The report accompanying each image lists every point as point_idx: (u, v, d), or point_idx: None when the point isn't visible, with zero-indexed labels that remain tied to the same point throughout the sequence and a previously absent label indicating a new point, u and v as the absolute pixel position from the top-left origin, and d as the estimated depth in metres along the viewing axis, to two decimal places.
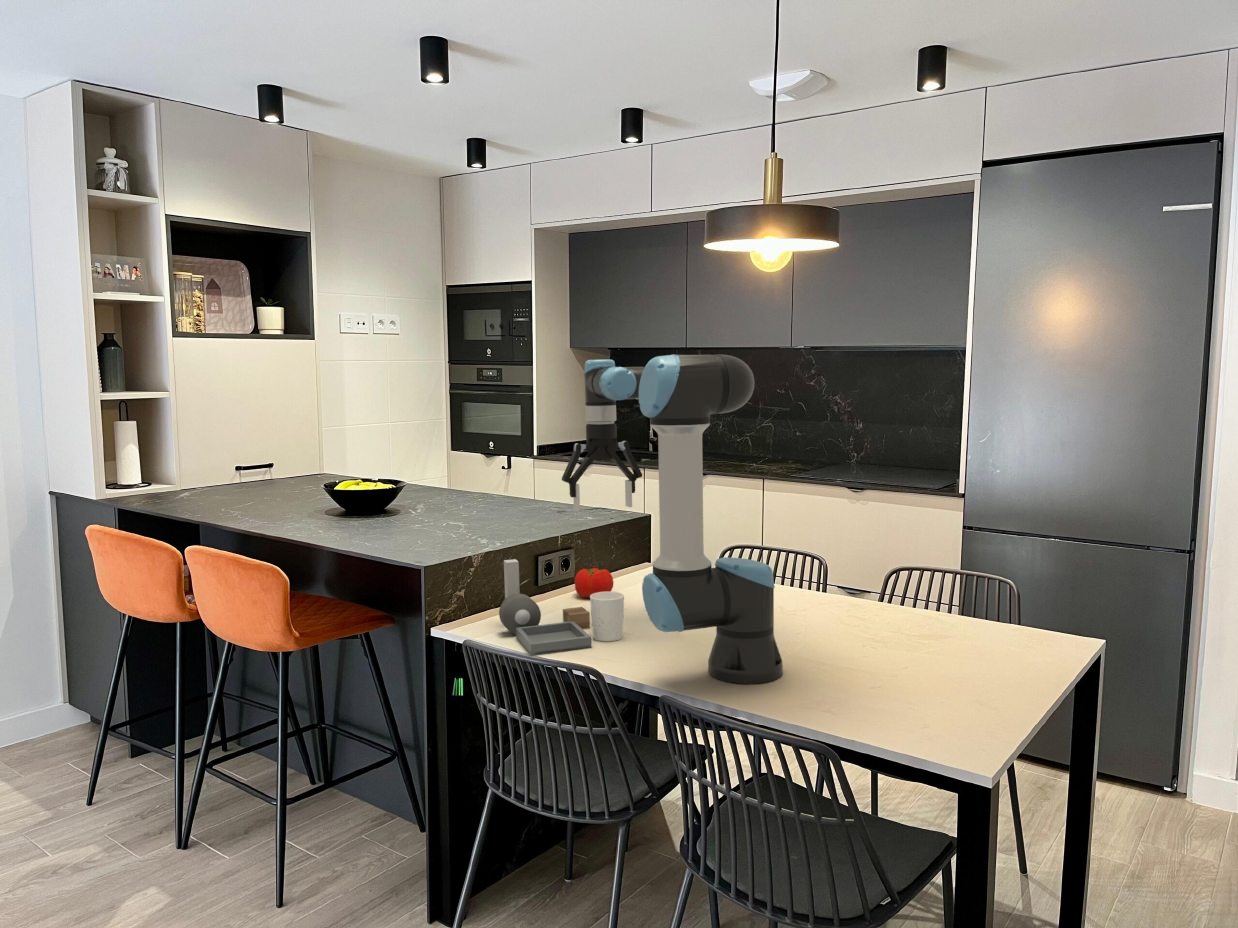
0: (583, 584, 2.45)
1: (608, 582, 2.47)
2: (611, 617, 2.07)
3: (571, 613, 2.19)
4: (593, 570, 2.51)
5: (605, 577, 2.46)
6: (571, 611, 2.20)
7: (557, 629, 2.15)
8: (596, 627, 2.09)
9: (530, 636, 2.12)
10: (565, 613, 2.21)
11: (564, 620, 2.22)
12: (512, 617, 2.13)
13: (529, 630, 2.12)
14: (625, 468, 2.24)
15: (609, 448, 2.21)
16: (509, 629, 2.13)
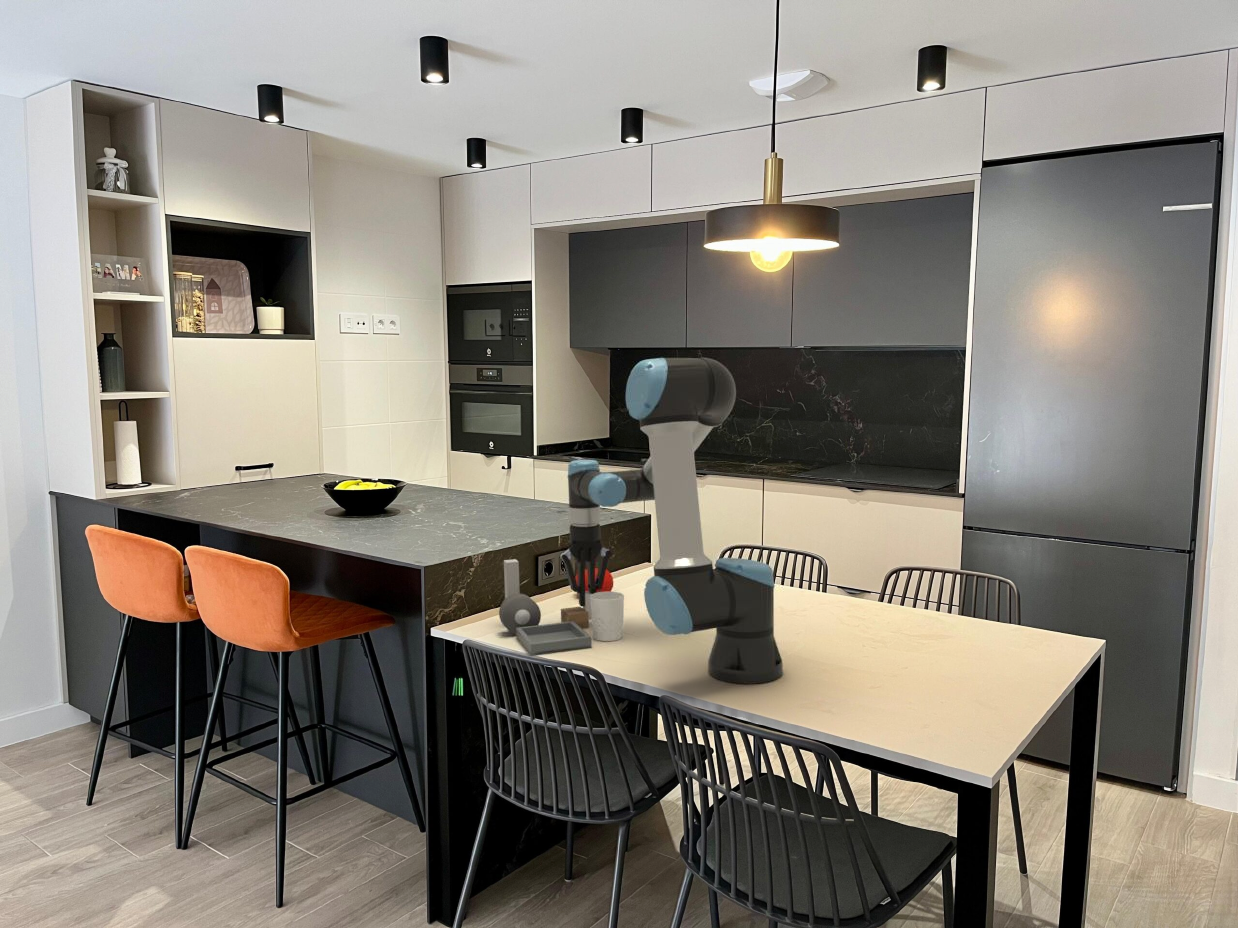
0: None
1: (608, 582, 2.47)
2: (611, 617, 2.07)
3: (570, 613, 2.19)
4: None
5: (605, 577, 2.46)
6: (569, 611, 2.20)
7: (557, 629, 2.15)
8: (596, 627, 2.09)
9: (530, 636, 2.12)
10: (563, 613, 2.21)
11: (562, 620, 2.22)
12: (512, 617, 2.13)
13: (529, 630, 2.12)
14: (593, 577, 2.21)
15: (593, 550, 2.19)
16: (509, 629, 2.13)
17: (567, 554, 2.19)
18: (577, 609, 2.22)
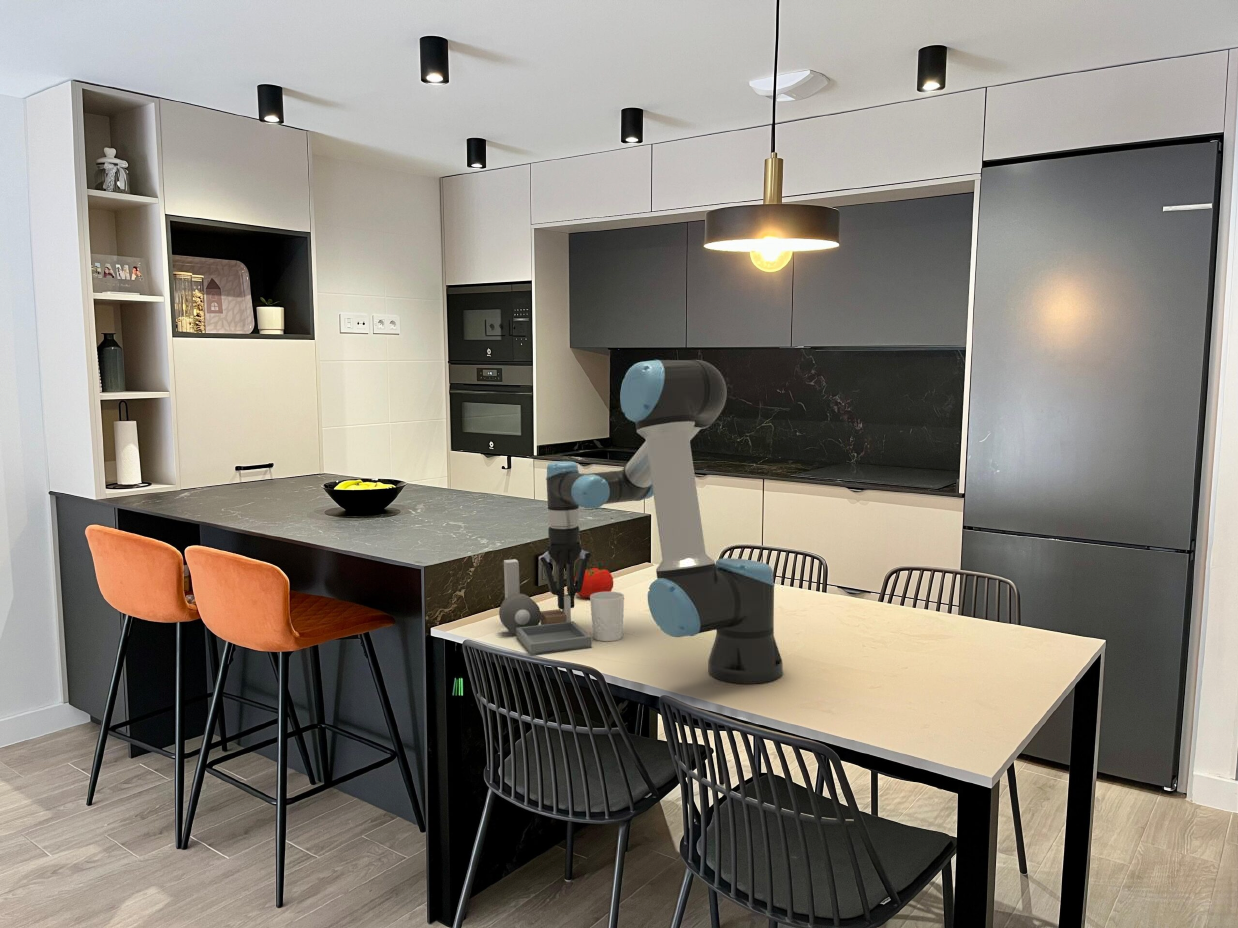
0: (583, 584, 2.45)
1: (608, 582, 2.47)
2: (611, 617, 2.07)
3: (548, 615, 2.17)
4: (593, 570, 2.51)
5: (605, 577, 2.46)
6: (547, 614, 2.19)
7: (557, 629, 2.15)
8: (596, 627, 2.09)
9: (530, 636, 2.12)
10: (542, 615, 2.19)
11: (541, 622, 2.20)
12: (512, 617, 2.13)
13: (529, 630, 2.12)
14: (572, 579, 2.19)
15: (572, 552, 2.17)
16: (509, 629, 2.13)
17: (546, 557, 2.17)
18: (556, 612, 2.20)
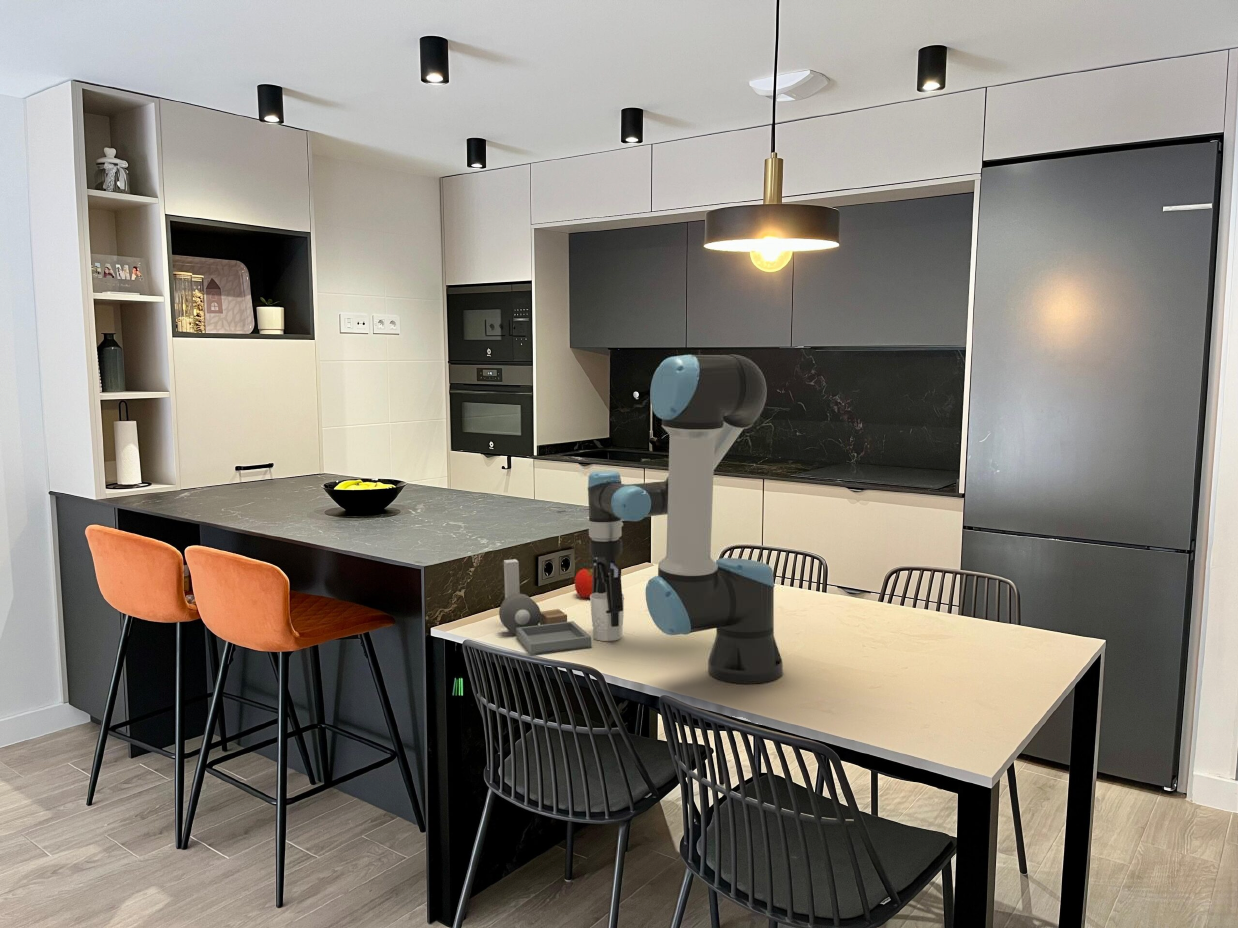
0: (583, 584, 2.45)
1: None
2: None
3: (548, 616, 2.17)
4: None
5: None
6: (548, 614, 2.18)
7: (557, 629, 2.15)
8: (596, 627, 2.09)
9: (530, 636, 2.12)
10: (542, 616, 2.19)
11: (541, 623, 2.20)
12: (512, 617, 2.13)
13: (529, 630, 2.12)
14: (607, 595, 2.06)
15: (600, 566, 2.08)
16: (509, 629, 2.13)
17: (597, 561, 2.14)
18: (555, 612, 2.20)
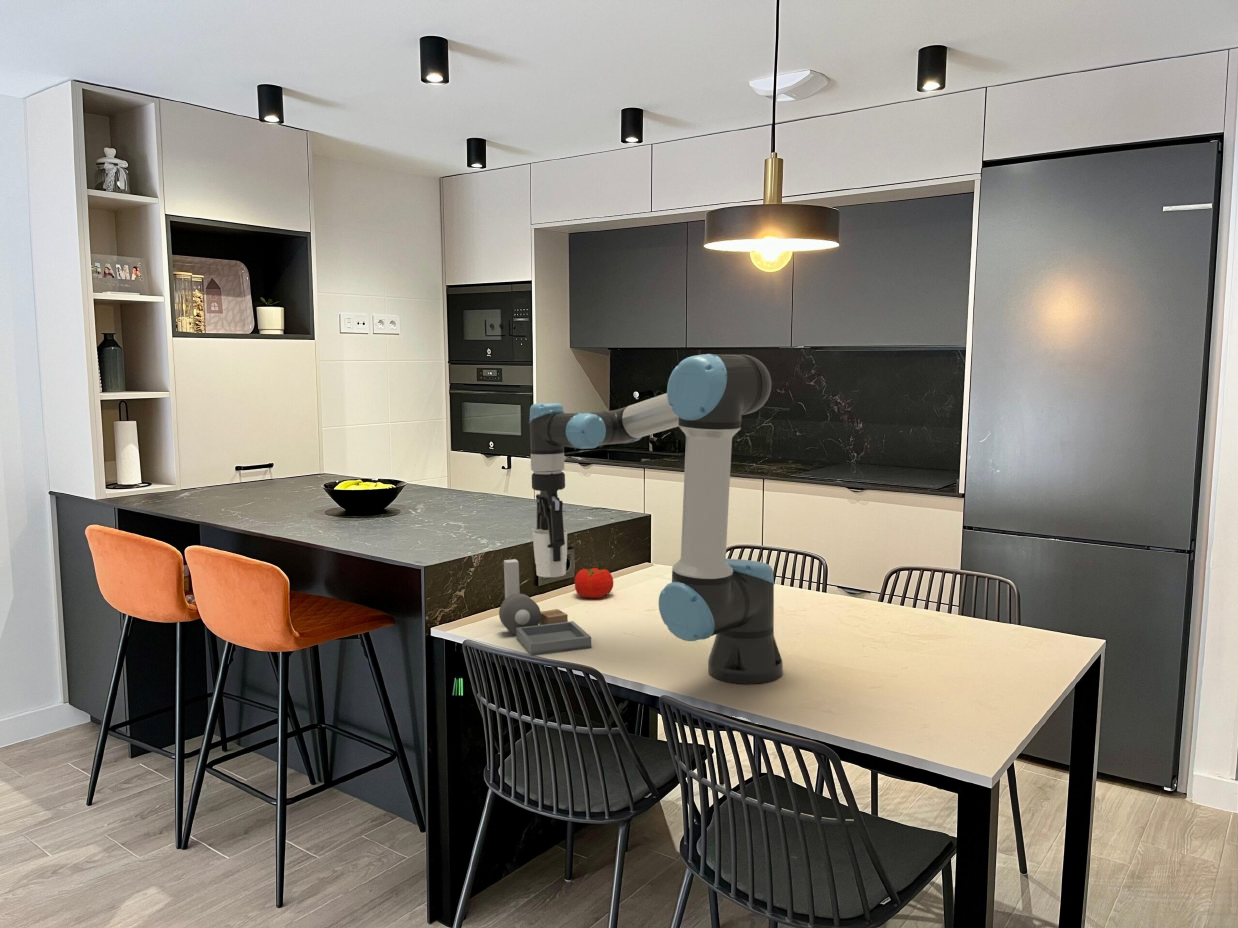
0: (583, 584, 2.45)
1: (608, 582, 2.47)
2: None
3: (549, 616, 2.17)
4: (593, 570, 2.51)
5: (605, 577, 2.46)
6: (548, 614, 2.18)
7: (557, 629, 2.15)
8: (538, 563, 2.04)
9: (530, 636, 2.12)
10: (542, 616, 2.19)
11: (541, 623, 2.20)
12: (512, 617, 2.13)
13: (529, 630, 2.12)
14: (549, 530, 2.01)
15: (542, 500, 2.03)
16: (509, 629, 2.13)
17: None
18: (555, 612, 2.20)
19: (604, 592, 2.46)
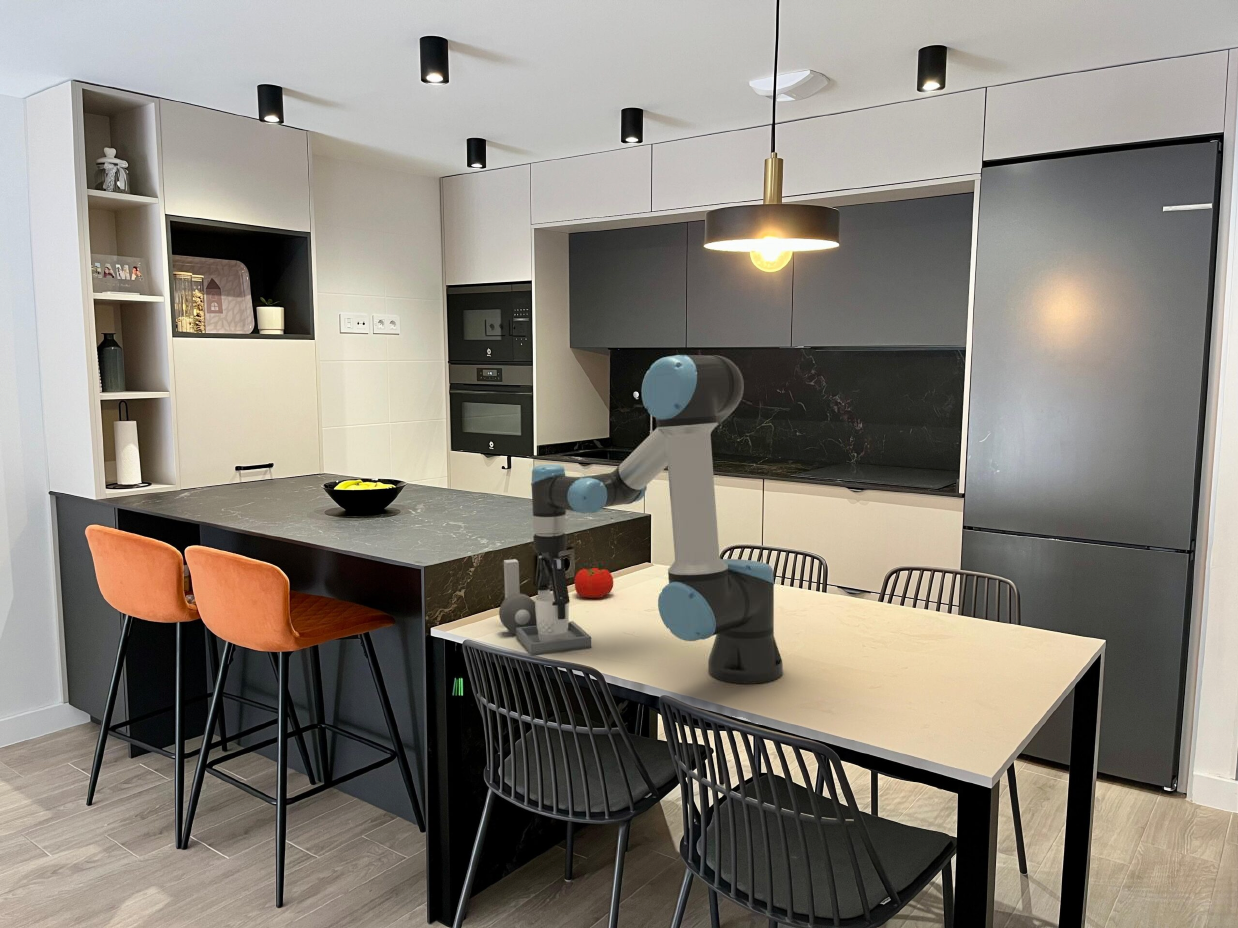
0: (583, 584, 2.45)
1: (608, 582, 2.47)
2: None
3: None
4: (593, 570, 2.51)
5: (605, 577, 2.46)
6: None
7: None
8: (540, 629, 2.06)
9: (530, 636, 2.12)
10: None
11: None
12: (512, 617, 2.13)
13: (529, 630, 2.12)
14: (553, 588, 2.01)
15: (544, 562, 2.04)
16: (509, 629, 2.13)
17: None
18: None
19: (604, 592, 2.46)
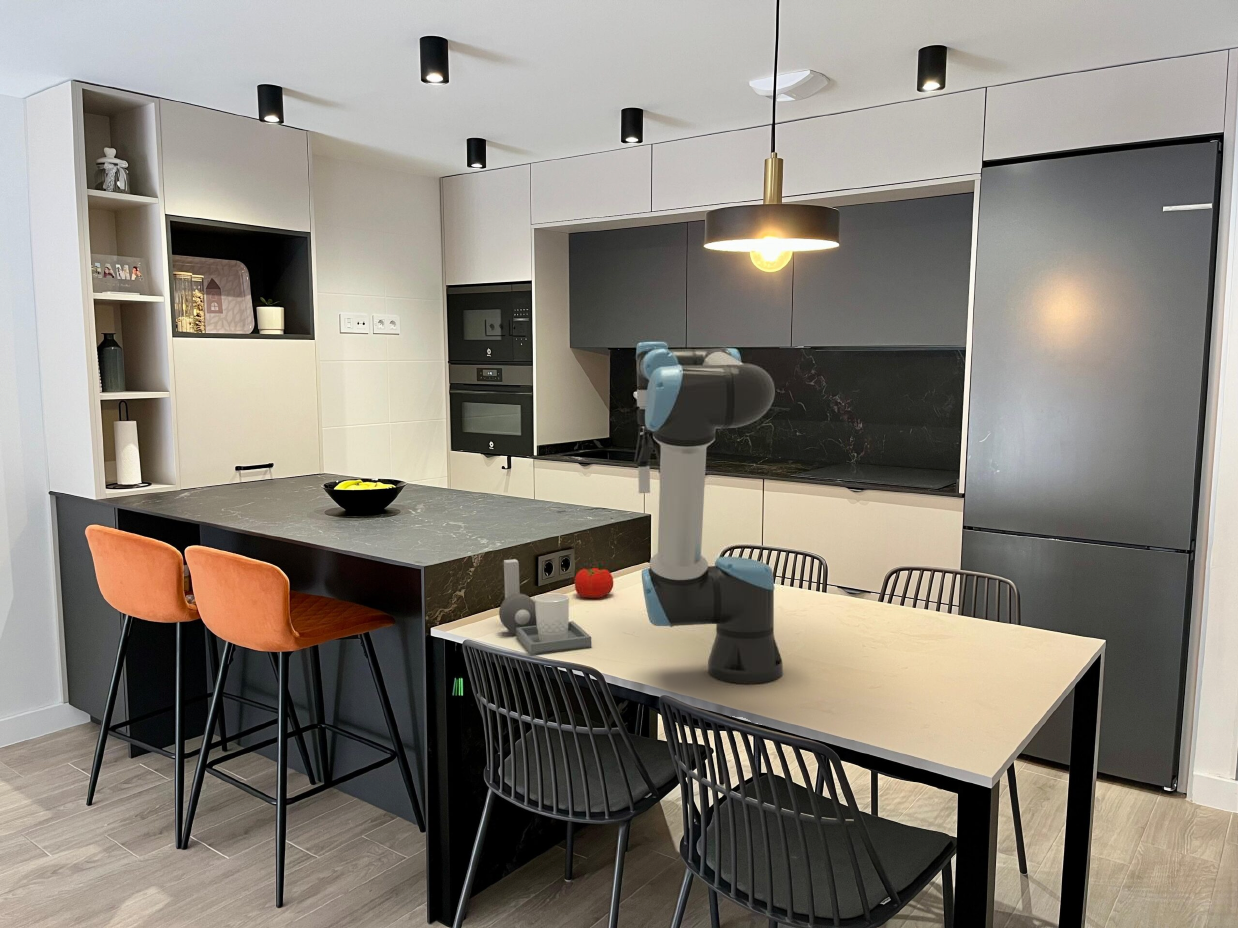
0: (583, 584, 2.45)
1: (608, 582, 2.47)
2: (554, 619, 2.04)
3: None
4: (593, 570, 2.51)
5: (605, 577, 2.46)
6: None
7: None
8: (540, 629, 2.06)
9: (530, 636, 2.12)
10: None
11: None
12: (512, 617, 2.13)
13: (529, 630, 2.12)
14: (658, 458, 2.10)
15: (648, 434, 2.13)
16: (509, 629, 2.13)
17: (643, 430, 2.20)
18: None
19: (604, 592, 2.46)
